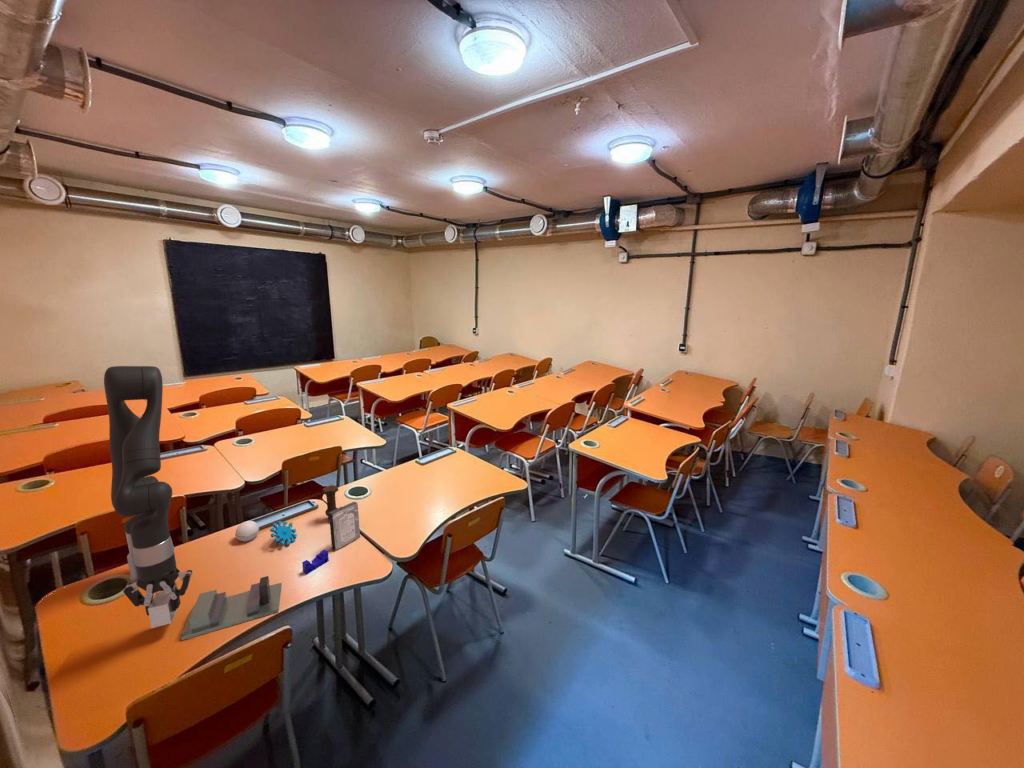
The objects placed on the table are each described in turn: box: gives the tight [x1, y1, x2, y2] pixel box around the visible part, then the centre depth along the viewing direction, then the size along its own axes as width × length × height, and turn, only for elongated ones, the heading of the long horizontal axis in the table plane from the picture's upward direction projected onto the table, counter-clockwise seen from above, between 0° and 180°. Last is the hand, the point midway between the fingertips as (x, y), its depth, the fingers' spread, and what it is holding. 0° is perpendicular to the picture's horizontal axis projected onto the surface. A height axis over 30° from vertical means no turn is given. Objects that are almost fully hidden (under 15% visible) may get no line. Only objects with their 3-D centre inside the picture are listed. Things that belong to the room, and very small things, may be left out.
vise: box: [180, 582, 283, 641], centre depth 109 cm, size 22×12×5 cm, turn 117°
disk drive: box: [328, 501, 361, 551], centre depth 141 cm, size 10×3×15 cm, turn 145°
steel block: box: [148, 591, 179, 629], centre depth 102 cm, size 4×6×6 cm, turn 27°
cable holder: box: [301, 549, 330, 575], centre depth 129 cm, size 8×4×4 cm, turn 150°
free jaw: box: [246, 576, 270, 615], centre depth 112 cm, size 5×10×6 cm, turn 27°
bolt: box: [322, 484, 339, 522], centre depth 155 cm, size 6×5×15 cm
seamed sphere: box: [234, 520, 260, 543], centre depth 142 cm, size 10×7×7 cm
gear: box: [269, 520, 298, 546], centre depth 142 cm, size 11×6×10 cm
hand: (164, 611), depth 102 cm, fingers closed on steel block, 4 cm apart
